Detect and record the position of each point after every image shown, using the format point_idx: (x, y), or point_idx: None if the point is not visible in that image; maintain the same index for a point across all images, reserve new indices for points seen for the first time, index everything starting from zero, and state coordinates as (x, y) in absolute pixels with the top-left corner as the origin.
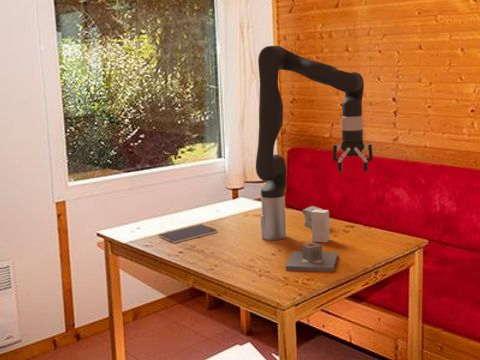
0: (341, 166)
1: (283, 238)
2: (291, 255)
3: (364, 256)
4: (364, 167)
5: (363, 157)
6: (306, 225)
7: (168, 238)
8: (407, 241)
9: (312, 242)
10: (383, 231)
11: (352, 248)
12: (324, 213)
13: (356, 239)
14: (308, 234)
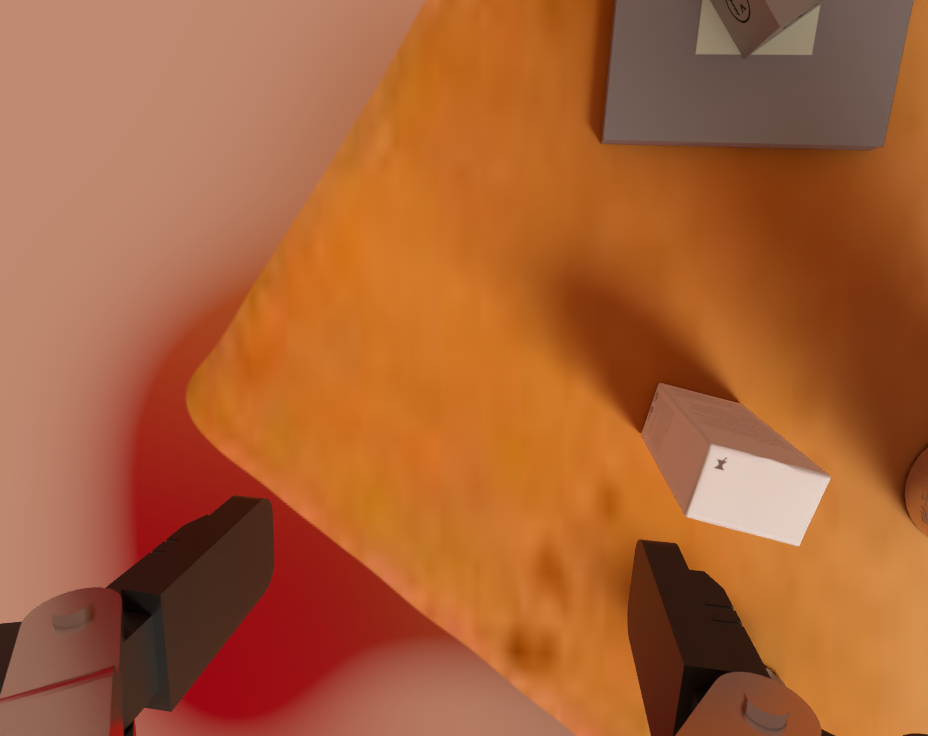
0: (668, 607)
1: (922, 452)
2: (899, 52)
3: (455, 153)
4: (204, 535)
5: (47, 686)
6: (770, 673)
7: None
8: (252, 404)
9: (796, 14)
10: (364, 561)
11: (518, 287)
12: (720, 444)
13: (496, 438)
14: None
